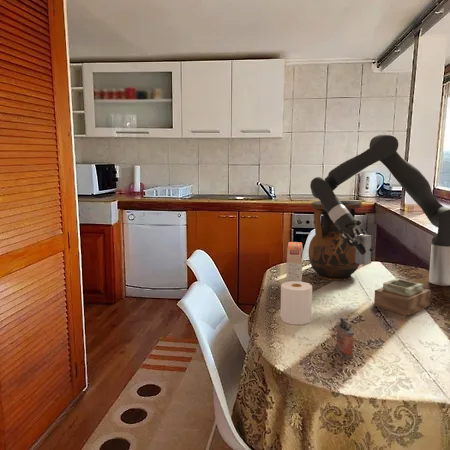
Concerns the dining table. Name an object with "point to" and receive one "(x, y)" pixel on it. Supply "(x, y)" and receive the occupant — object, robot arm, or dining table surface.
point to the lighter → (345, 338)
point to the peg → (366, 243)
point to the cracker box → (294, 262)
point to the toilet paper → (296, 302)
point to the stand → (402, 296)
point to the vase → (332, 246)
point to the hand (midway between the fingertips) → (367, 252)
